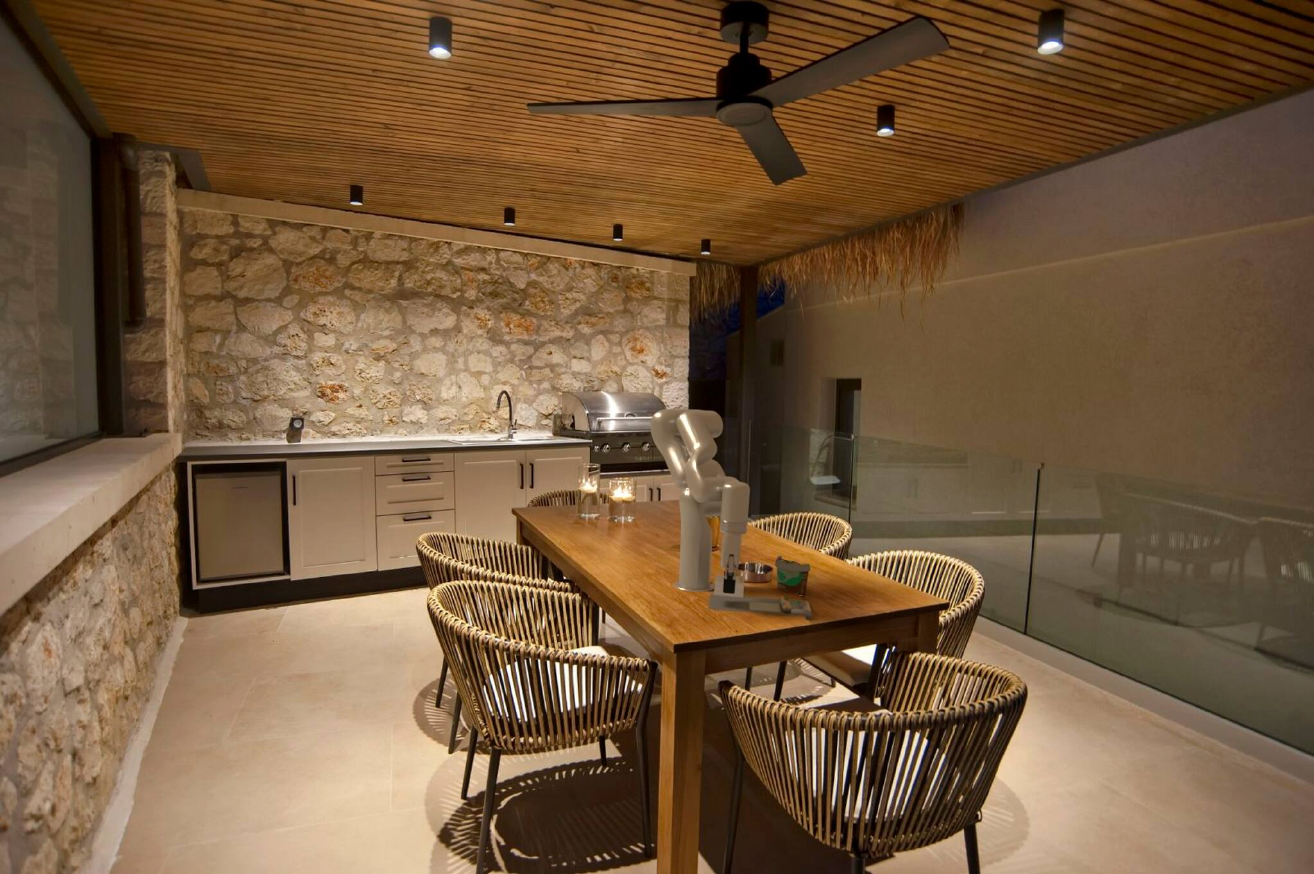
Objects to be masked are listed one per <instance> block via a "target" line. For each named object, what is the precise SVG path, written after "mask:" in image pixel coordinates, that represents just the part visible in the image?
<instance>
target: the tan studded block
mask: <svg viewBox="0 0 1314 874" xmlns="http://www.w3.org/2000/svg"><path fill="white" fill-rule="evenodd" d="M724 578H725V575H724V574H715V578H714V585H715V588H714V589H713V590H714V591H713V594H714V595H721V596H731V597H742V598H743V596H744V588H745V577H744V576H742V575H739V576H737V575H735V579H736V581H735V593H734V594H730V593H723V585H724Z"/></svg>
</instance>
